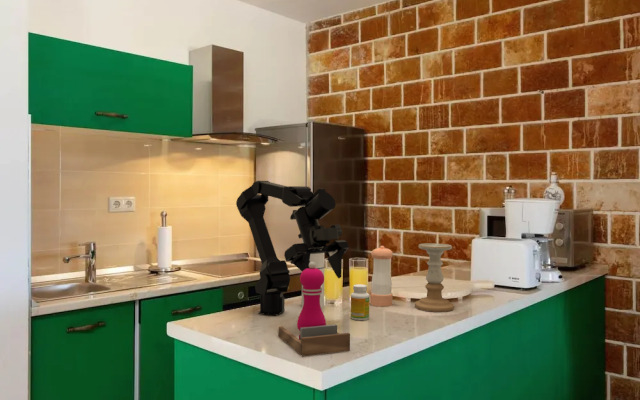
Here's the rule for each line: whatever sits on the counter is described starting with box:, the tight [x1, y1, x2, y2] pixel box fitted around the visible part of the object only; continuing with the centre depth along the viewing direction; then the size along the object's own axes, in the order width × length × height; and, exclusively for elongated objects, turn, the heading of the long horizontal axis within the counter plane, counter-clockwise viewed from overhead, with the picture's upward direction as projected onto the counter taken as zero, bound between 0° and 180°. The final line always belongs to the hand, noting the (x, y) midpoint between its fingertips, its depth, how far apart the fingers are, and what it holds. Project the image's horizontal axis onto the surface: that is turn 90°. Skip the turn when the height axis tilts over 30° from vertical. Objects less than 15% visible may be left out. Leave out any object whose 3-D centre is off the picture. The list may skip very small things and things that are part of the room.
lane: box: [277, 325, 351, 357], centre depth 134 cm, size 18×12×4 cm
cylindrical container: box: [301, 238, 325, 309], centre depth 175 cm, size 7×7×25 cm
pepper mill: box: [296, 262, 327, 340], centre depth 135 cm, size 7×7×20 cm
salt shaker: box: [369, 245, 394, 307], centre depth 179 cm, size 7×7×19 cm
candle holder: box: [414, 242, 455, 313], centre depth 174 cm, size 12×12×20 cm
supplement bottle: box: [350, 283, 370, 321], centre depth 160 cm, size 5×5×10 cm
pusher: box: [299, 324, 338, 340], centre depth 131 cm, size 1×9×5 cm, turn 112°
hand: (327, 279), depth 146 cm, fingers open, 9 cm apart
